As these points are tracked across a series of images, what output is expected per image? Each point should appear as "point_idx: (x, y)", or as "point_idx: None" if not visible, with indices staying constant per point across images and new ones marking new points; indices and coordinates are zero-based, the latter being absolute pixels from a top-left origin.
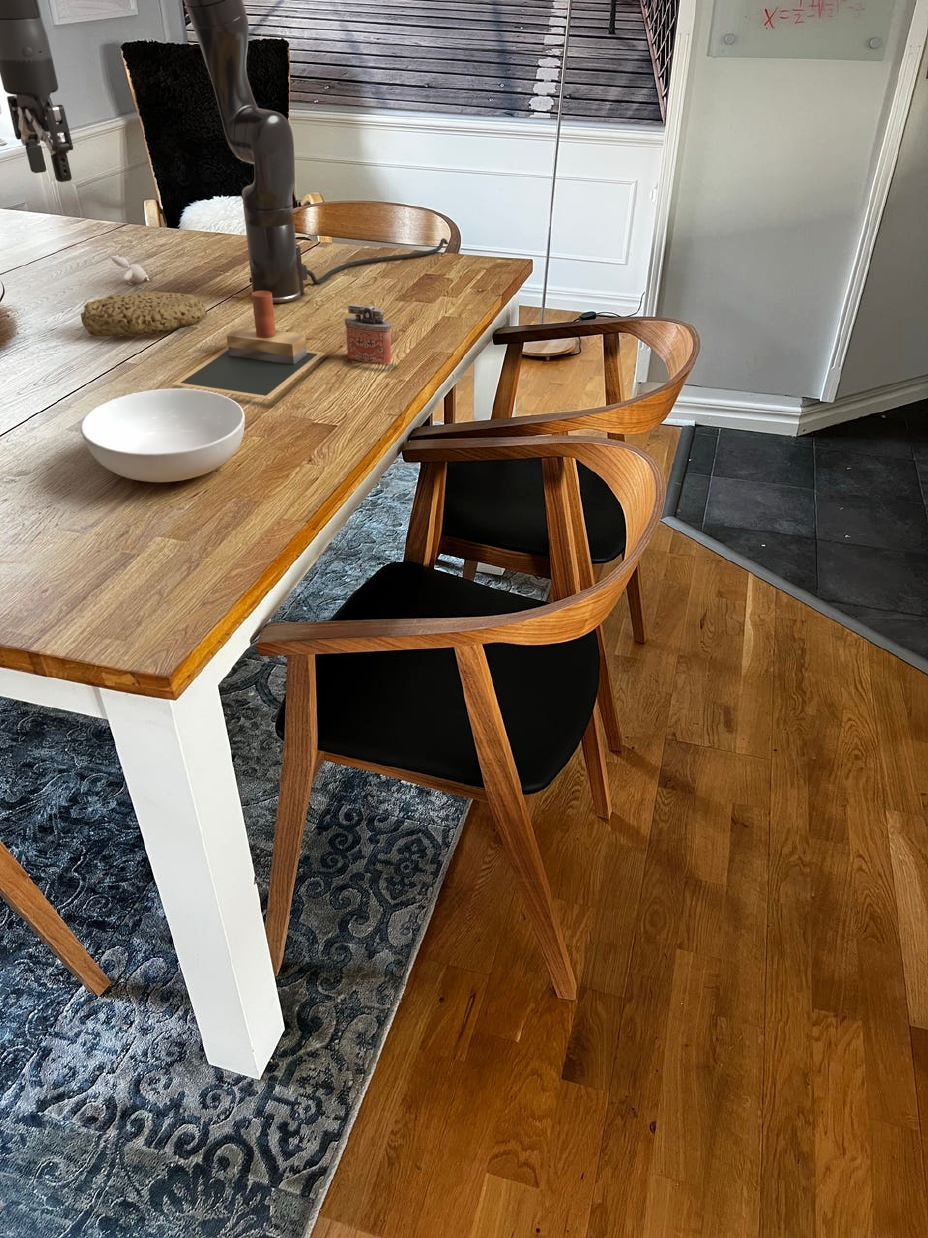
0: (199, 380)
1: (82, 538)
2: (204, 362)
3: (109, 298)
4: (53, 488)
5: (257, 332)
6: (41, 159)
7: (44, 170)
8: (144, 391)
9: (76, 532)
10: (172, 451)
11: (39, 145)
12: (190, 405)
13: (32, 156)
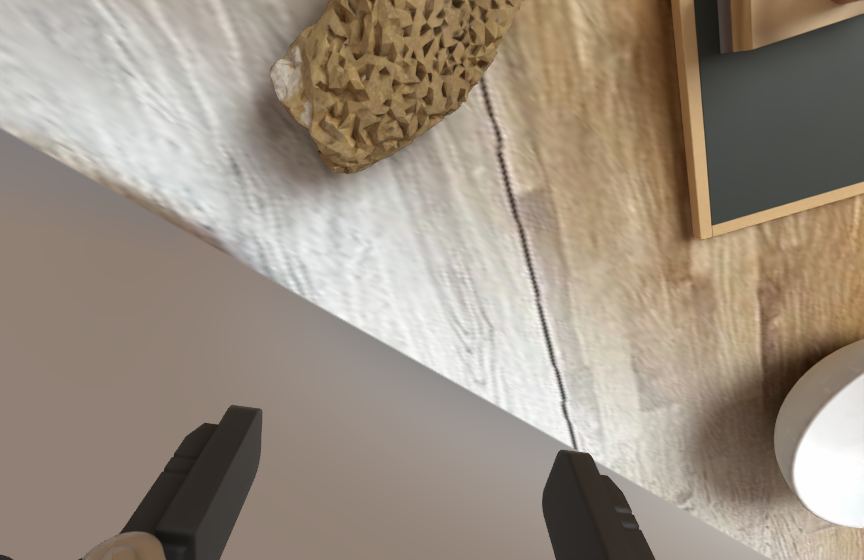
0: (740, 196)
1: (842, 530)
2: (693, 121)
3: (344, 89)
4: (743, 496)
5: (846, 1)
6: (237, 468)
7: (260, 416)
8: (828, 404)
9: (829, 527)
10: (851, 394)
11: (181, 536)
12: None
13: (227, 533)
